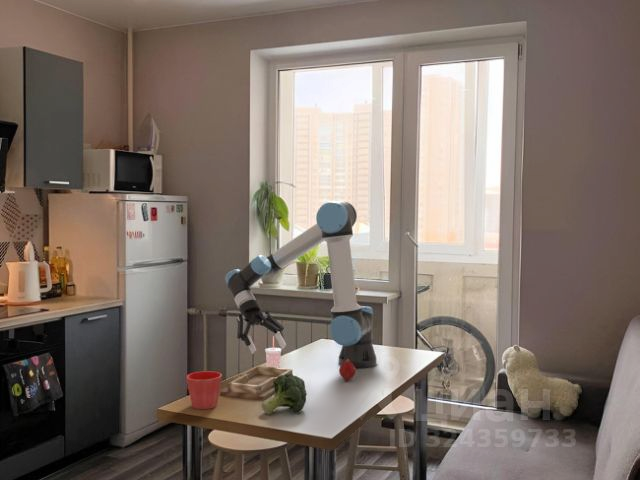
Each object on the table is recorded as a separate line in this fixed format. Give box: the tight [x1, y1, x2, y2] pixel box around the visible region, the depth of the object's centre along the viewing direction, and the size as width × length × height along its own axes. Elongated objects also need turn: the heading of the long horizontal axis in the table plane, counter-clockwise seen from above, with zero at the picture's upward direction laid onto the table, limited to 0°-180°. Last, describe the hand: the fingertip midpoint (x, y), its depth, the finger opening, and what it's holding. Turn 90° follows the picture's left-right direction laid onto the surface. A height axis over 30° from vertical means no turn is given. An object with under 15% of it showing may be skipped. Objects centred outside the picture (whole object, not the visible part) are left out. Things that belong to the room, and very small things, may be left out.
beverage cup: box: [264, 335, 283, 368], centre depth 247 cm, size 6×6×14 cm
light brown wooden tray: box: [219, 365, 293, 401], centre depth 229 cm, size 16×26×4 cm, turn 160°
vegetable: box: [260, 373, 308, 415], centre depth 203 cm, size 12×13×15 cm
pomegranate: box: [338, 359, 356, 382], centre depth 238 cm, size 6×6×8 cm
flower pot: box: [186, 370, 223, 410], centre depth 208 cm, size 11×11×10 cm
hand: (269, 349), depth 248 cm, fingers open, 13 cm apart
